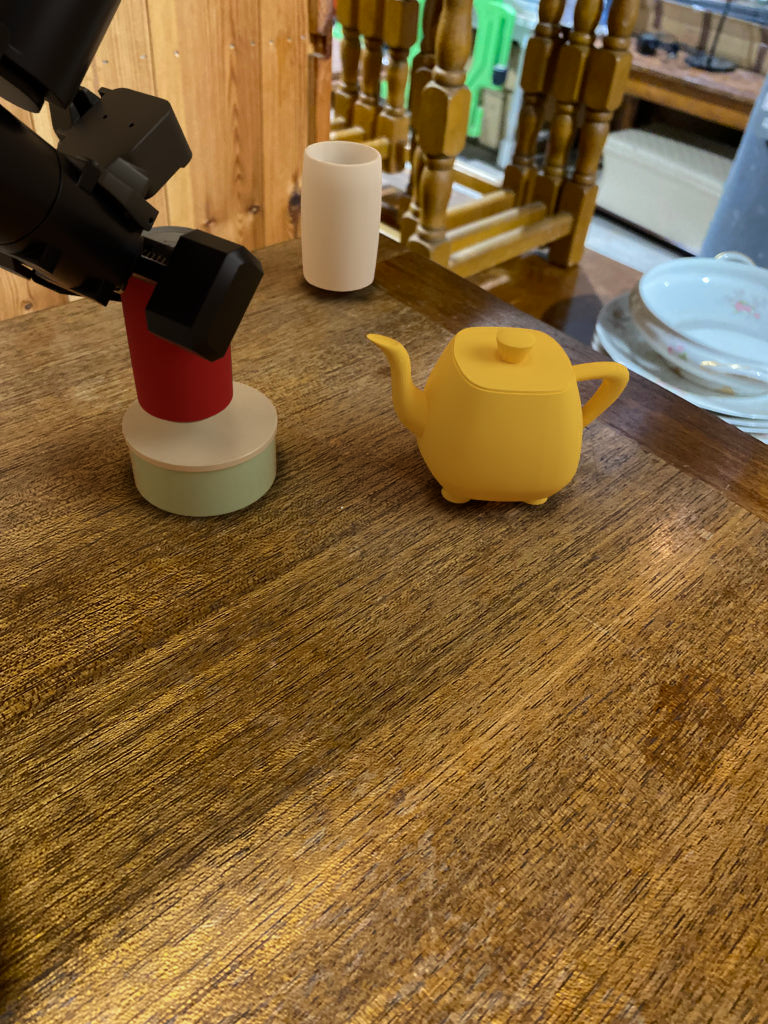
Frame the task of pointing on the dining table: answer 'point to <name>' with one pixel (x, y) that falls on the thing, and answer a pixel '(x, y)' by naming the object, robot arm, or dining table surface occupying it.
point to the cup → (340, 214)
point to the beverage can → (171, 358)
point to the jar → (205, 456)
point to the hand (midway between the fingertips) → (192, 314)
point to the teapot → (500, 412)
